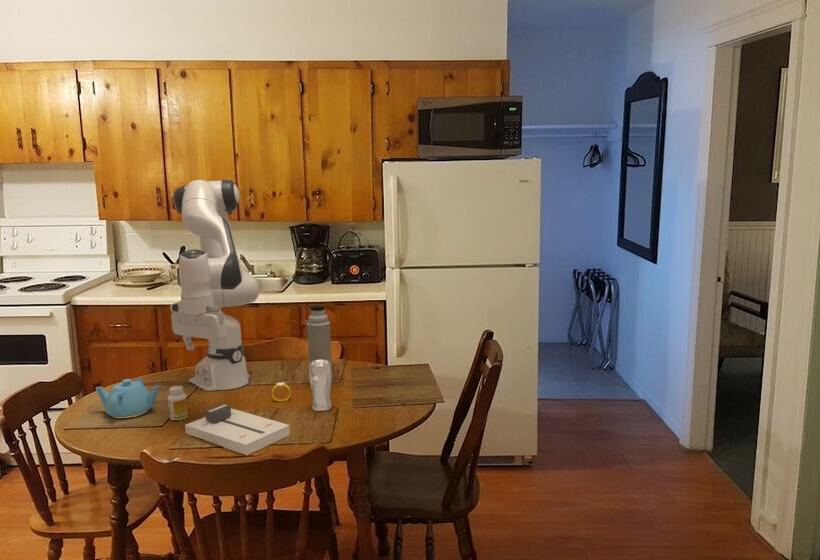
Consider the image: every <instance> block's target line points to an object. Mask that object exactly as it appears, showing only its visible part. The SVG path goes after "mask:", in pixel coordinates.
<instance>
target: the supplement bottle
mask: <svg viewBox="0 0 820 560" xmlns="http://www.w3.org/2000/svg"><path fill="white" fill-rule="evenodd" d="M168 391H169V395H168V397H167V404H168V405H167V406H168V419H169V420H170V419H171V420H170V421H172V420H180V421H183V420H182V419H184V420H186V419H187V418H188V417H189V416H188V415H189V413H188V403H187V401H188V400H187V394H186V393H184V387H183V385H182V386H181V385H176V386H175V385H174V386H172V387H171V386H170V387H169V390H168ZM185 418H186V419H185Z"/></svg>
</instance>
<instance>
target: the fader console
mask: <svg viewBox="0 0 820 560" xmlns="http://www.w3.org/2000/svg"><path fill="white" fill-rule="evenodd" d="M184 428H185V429H184V430H185V434H186V433H187V434H190V435H193V436H196V437H199V438H201V439H205V440H207V441H210V442H212V443H215V444H217V445H216V446H218V445H220V446H222V447H221V448H223V447H224V448H223V449H227V450H230V451H232V452H235V453H239V454H242V455H244V456H248V455H251V454H253V453H255V452H257V451H260V450H261V449H264V448H266V447H268V446H271V445H272V444H274V443H276V442H278V441H280V440H283V439H284V438H287V437H289V436H290V435H291V430H290V424H287V423H283V422H280V421H277V420H273V419H269V418H265V417H263V416H259V415H257V414H256V415H255V414H251V413H248V412H245V411H242V410H238V409H235V408H232V407H231V417H228V418H226V419H223V420H221V421H218V422H216V423H214V422H211V421H207V420H206V416H204V417H202V418H199V419H197V420H194V421H192V422H188V423H187V424H184ZM212 443H211V444H212ZM215 444H214V445H215ZM220 446H219V447H220Z"/></svg>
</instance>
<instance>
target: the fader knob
mask: <svg viewBox="0 0 820 560" xmlns="http://www.w3.org/2000/svg"><path fill="white" fill-rule="evenodd" d="M231 408H232V407H231V406H229V405H227V404H224V403H223V404H222V403H220V404H218V405H215V406H212V407H211V408H208V409H205V410H204V411H205V412H204V414H205V417H206V420H207V421H211V422H214V423H216V422H218V421H221V420H223V419H226V418H228V417H231Z"/></svg>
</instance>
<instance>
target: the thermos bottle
mask: <svg viewBox="0 0 820 560" xmlns="http://www.w3.org/2000/svg"><path fill="white" fill-rule="evenodd" d="M309 308H310V314H309V316H308V321H307V322H306V335H307V336H306V337H307V338H306V339H307V352H308V364H309V363H310V362H311V361H314V360H320V359H324V360H329V361H330V365H331V373H332V374H333V363H332V362H333V361H332V360H333V359H332V341H331V340H332V339H331V338H332V337H331V322H330V321H329V320H328V319H329V316H328V315H327V314H326V310H325V309H326V308H325V306H324V305H313V306H311V307H309ZM333 382H334V381H333V378H332V380H331V386H333ZM309 386H310V387H311V385H310V384H309Z"/></svg>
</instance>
